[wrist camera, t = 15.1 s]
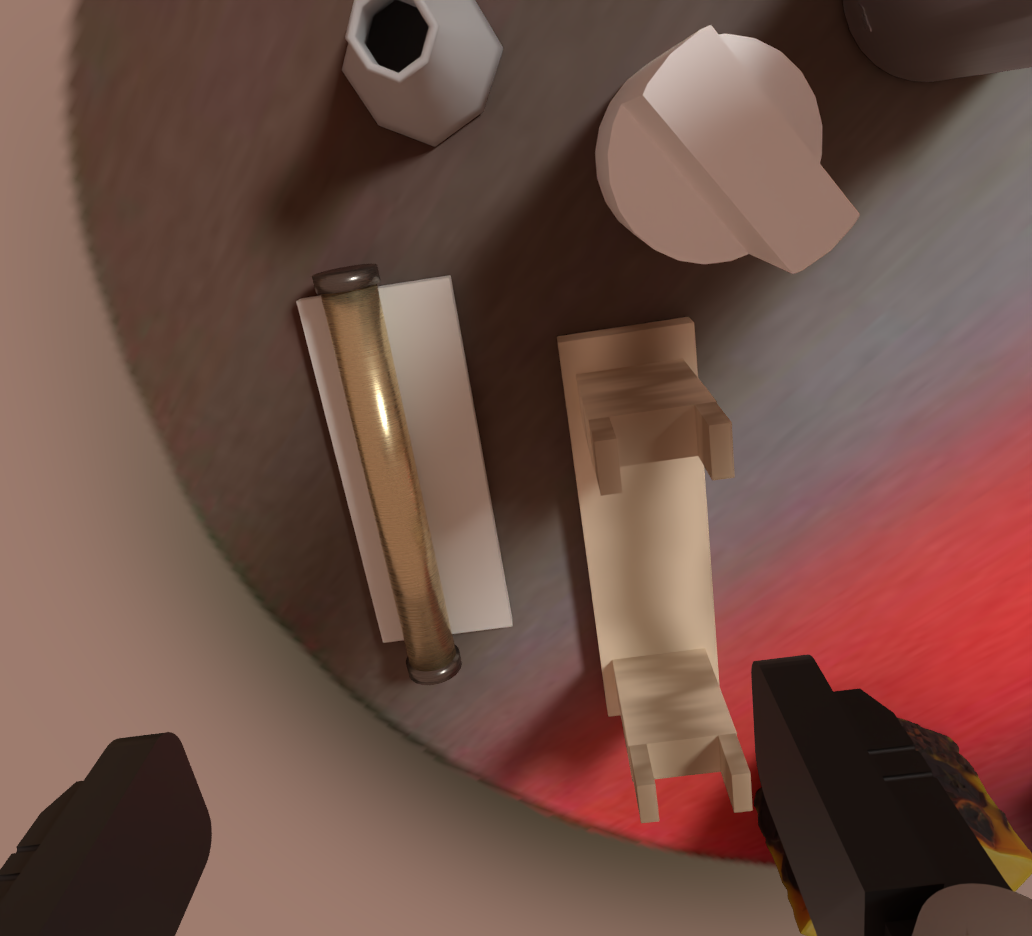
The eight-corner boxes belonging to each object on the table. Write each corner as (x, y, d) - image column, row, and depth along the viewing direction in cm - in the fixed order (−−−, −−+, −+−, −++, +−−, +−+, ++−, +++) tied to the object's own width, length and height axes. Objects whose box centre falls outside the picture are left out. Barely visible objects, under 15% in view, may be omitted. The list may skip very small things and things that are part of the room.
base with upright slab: (816, 154, 39) (935, 157, 28) (675, 285, 41) (734, 335, 30) (699, 5, 37) (777, -58, 25) (556, 152, 39) (572, 154, 28)
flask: (439, 174, 39) (415, 183, 30) (316, 74, 38) (250, 50, 28) (530, 45, 37) (534, 11, 28) (404, -68, 36) (364, -143, 26)
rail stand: (688, 316, 42) (748, 376, 31) (714, 687, 51) (769, 836, 40) (556, 336, 42) (570, 402, 31) (605, 701, 51) (629, 851, 40)
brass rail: (349, 264, 41) (298, 277, 39) (390, 262, 39) (338, 276, 37) (435, 646, 50) (398, 674, 48) (472, 661, 48) (434, 691, 46)
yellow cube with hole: (820, 687, 51) (888, 807, 42) (955, 733, 52) (1050, 860, 43) (745, 801, 54) (792, 935, 45) (873, 842, 56) (944, 980, 47)
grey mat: (450, 275, 41) (449, 277, 40) (512, 618, 49) (512, 626, 48) (300, 298, 42) (296, 301, 41) (385, 635, 49) (383, 643, 49)
